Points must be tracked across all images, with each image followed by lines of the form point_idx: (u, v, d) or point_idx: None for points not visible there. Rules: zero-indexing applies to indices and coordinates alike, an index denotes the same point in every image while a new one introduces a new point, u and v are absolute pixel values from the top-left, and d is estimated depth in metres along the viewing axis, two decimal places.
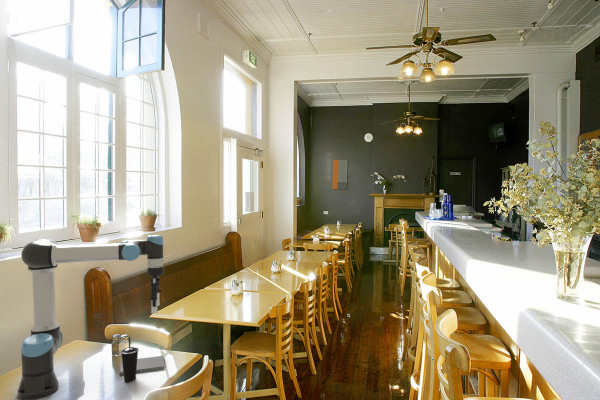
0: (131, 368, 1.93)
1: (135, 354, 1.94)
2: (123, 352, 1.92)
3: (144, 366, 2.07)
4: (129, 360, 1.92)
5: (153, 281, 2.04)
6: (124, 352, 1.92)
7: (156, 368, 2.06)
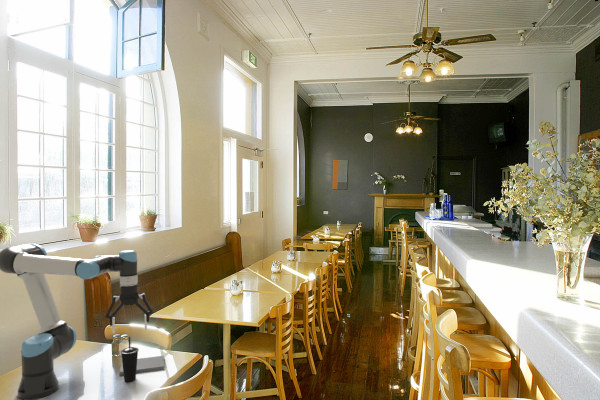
0: (131, 368, 1.93)
1: (135, 354, 1.94)
2: (123, 352, 1.92)
3: (144, 366, 2.07)
4: (129, 360, 1.92)
5: None
6: (124, 352, 1.92)
7: (156, 368, 2.06)
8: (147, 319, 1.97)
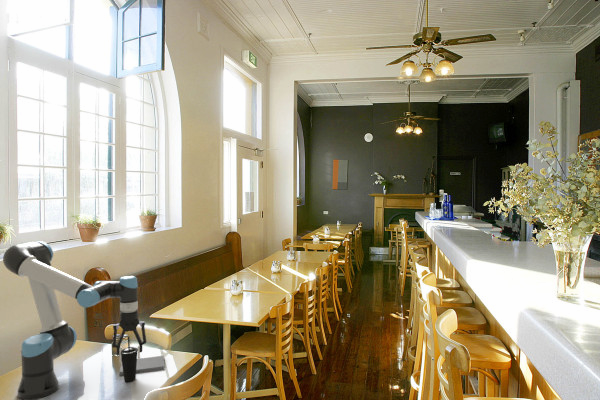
0: (131, 368, 1.93)
1: (134, 354, 1.94)
2: (122, 352, 1.92)
3: (144, 366, 2.07)
4: (129, 360, 1.92)
5: None
6: (123, 352, 1.92)
7: (156, 368, 2.06)
8: (140, 349, 1.96)
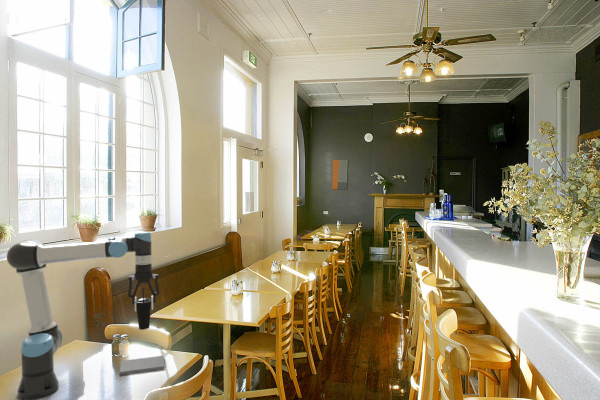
0: (145, 316, 2.08)
1: (148, 304, 2.08)
2: (137, 301, 2.07)
3: (144, 366, 2.07)
4: (143, 308, 2.07)
5: (129, 279, 2.08)
6: (138, 301, 2.07)
7: (156, 368, 2.06)
8: (154, 300, 2.11)
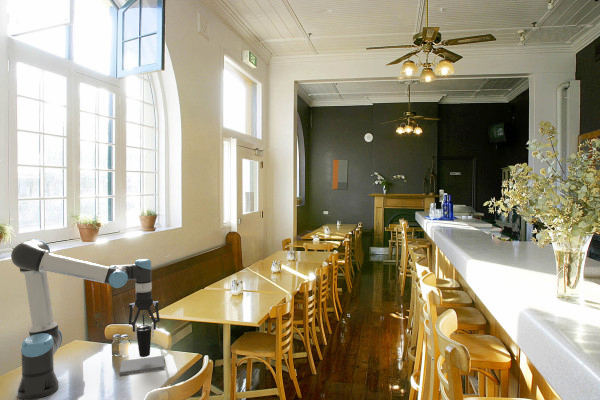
0: (146, 344, 2.08)
1: (149, 331, 2.09)
2: (138, 329, 2.07)
3: (144, 366, 2.07)
4: (143, 336, 2.07)
5: (129, 306, 2.08)
6: (139, 329, 2.07)
7: (156, 368, 2.06)
8: (154, 327, 2.11)
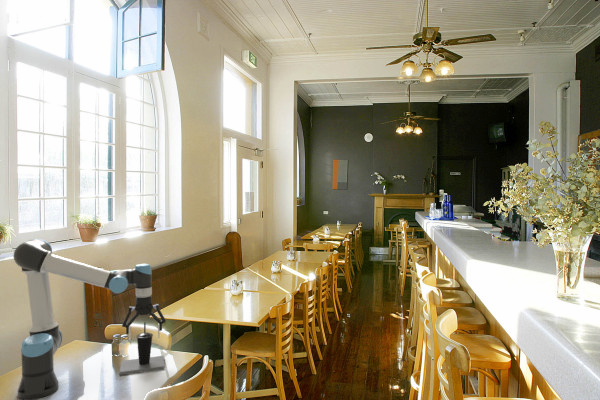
0: (146, 351, 2.08)
1: (150, 339, 2.09)
2: (139, 336, 2.08)
3: (144, 366, 2.07)
4: (144, 344, 2.08)
5: (129, 309, 2.08)
6: (140, 336, 2.08)
7: (156, 368, 2.06)
8: (160, 328, 2.12)
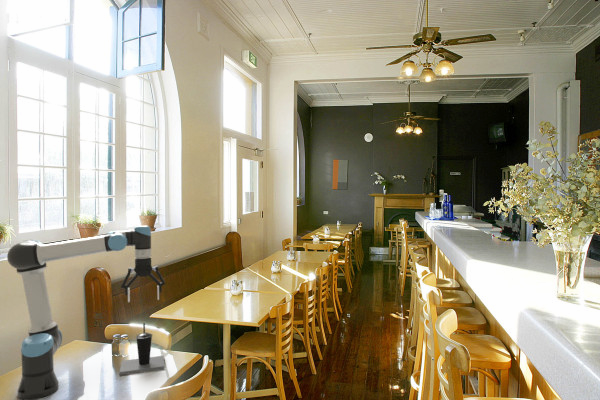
0: (146, 352, 2.08)
1: (149, 339, 2.09)
2: (138, 337, 2.08)
3: (144, 366, 2.07)
4: (144, 344, 2.07)
5: (128, 270, 2.08)
6: (139, 337, 2.07)
7: (156, 368, 2.06)
8: (160, 290, 2.12)
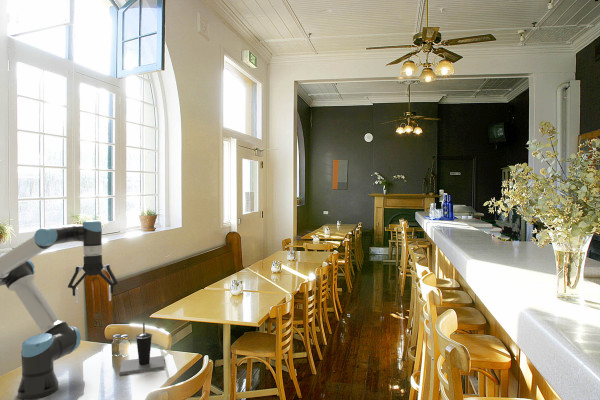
0: (146, 352, 2.08)
1: (149, 339, 2.09)
2: (138, 337, 2.08)
3: (144, 366, 2.07)
4: (143, 344, 2.07)
5: (76, 268, 1.90)
6: (139, 337, 2.07)
7: (156, 368, 2.06)
8: (111, 290, 1.94)
